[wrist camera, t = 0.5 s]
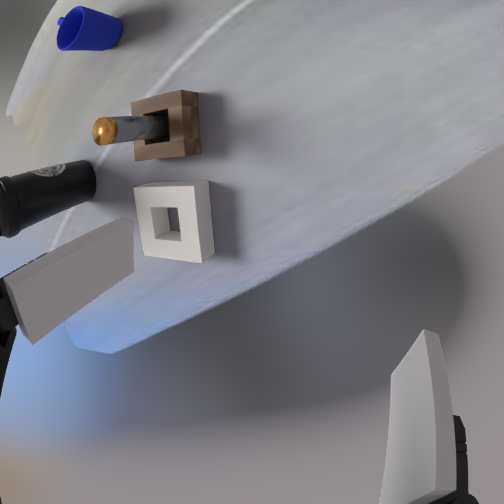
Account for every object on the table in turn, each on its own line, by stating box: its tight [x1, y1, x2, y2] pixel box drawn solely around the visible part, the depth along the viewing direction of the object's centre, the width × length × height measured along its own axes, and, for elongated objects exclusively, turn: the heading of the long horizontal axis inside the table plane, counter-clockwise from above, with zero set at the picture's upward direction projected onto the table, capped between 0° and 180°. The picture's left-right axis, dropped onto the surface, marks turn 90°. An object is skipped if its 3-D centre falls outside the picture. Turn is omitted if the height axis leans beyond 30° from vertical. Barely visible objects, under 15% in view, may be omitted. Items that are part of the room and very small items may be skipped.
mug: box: [57, 6, 122, 51], centre depth 31 cm, size 8×12×10 cm
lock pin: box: [93, 116, 170, 145], centre depth 32 cm, size 3×3×14 cm
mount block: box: [131, 90, 200, 161], centre depth 36 cm, size 9×9×4 cm
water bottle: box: [0, 160, 96, 238], centre depth 39 cm, size 10×10×23 cm
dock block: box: [134, 181, 215, 263], centre depth 42 cm, size 11×11×4 cm
